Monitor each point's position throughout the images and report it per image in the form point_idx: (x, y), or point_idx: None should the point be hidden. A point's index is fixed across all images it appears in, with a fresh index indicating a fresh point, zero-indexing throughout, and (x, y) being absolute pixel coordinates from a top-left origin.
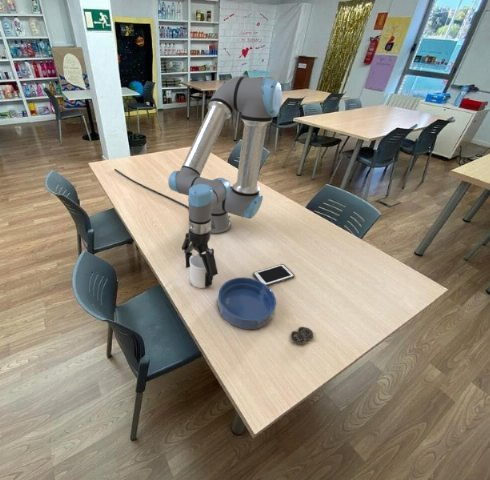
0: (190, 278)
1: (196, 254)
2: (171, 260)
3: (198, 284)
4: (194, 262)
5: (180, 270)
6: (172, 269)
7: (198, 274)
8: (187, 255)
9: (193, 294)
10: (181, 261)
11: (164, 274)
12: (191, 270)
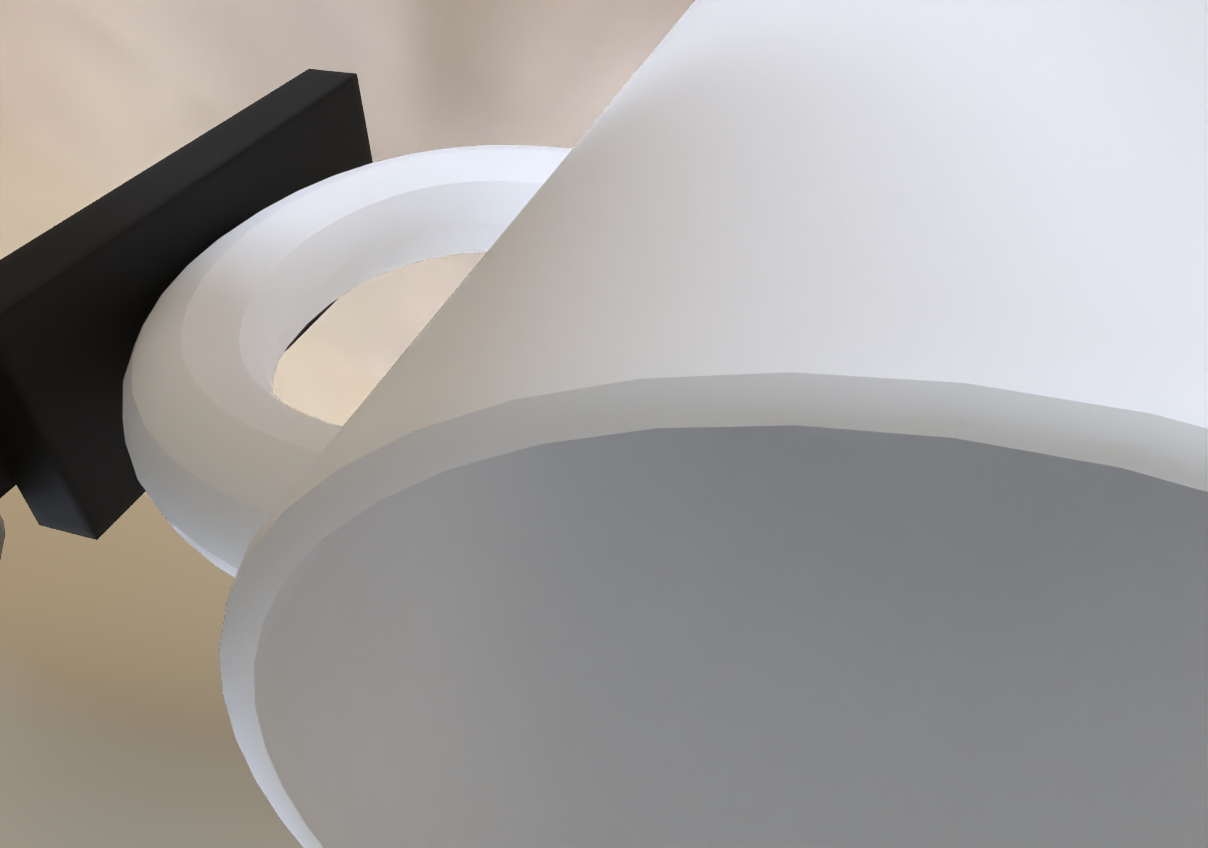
0: (765, 479)
1: (238, 721)
2: (33, 220)
3: (1078, 498)
4: (482, 493)
5: (359, 286)
6: (279, 367)
7: (1101, 840)
8: (90, 507)
9: None
10: (97, 80)
11: None
12: (774, 804)
